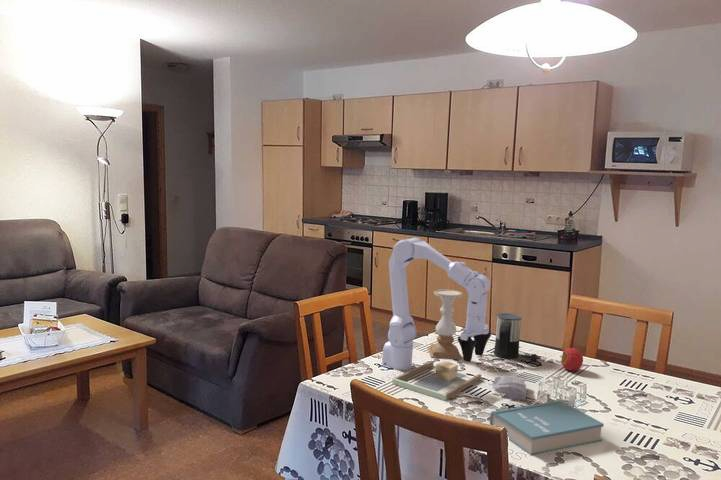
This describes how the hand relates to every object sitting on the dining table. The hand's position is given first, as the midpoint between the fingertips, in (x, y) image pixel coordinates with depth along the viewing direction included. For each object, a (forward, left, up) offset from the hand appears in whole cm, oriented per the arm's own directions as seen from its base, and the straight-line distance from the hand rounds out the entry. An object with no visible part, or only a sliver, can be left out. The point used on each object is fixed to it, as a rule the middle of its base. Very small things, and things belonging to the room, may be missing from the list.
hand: (473, 358), depth 173 cm
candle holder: (-20, +19, -10) cm, 29 cm away
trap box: (-8, -6, -9) cm, 14 cm away
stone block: (+10, +5, -10) cm, 15 cm away
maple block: (-8, -1, -8) cm, 11 cm away
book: (+29, -15, -10) cm, 34 cm away
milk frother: (-1, +38, -10) cm, 39 cm away
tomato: (+18, +39, -10) cm, 44 cm away
